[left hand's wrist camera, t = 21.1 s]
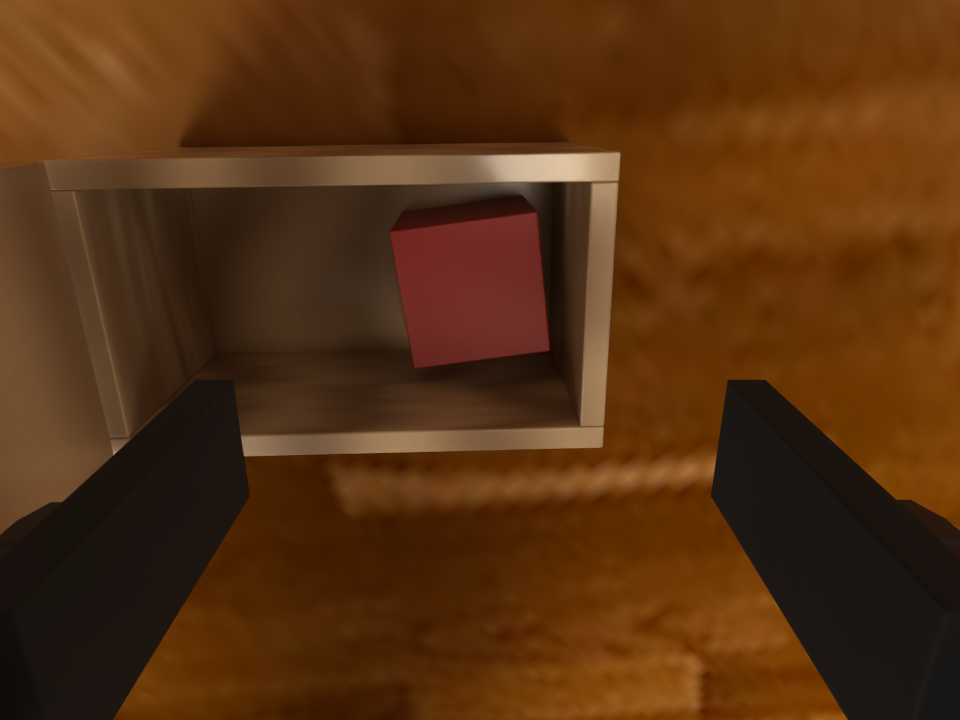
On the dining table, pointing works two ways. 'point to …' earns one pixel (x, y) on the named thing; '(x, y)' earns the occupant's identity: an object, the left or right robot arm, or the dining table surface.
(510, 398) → the chest
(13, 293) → the lid
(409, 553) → the dining table surface
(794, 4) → the dining table surface
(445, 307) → the block
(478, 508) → the dining table surface
